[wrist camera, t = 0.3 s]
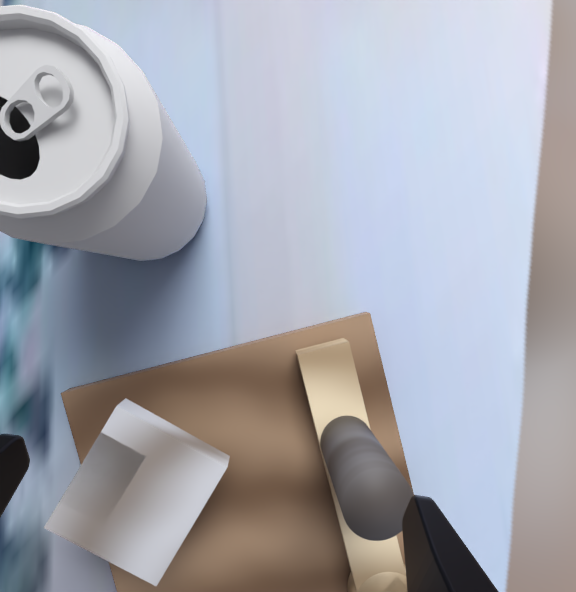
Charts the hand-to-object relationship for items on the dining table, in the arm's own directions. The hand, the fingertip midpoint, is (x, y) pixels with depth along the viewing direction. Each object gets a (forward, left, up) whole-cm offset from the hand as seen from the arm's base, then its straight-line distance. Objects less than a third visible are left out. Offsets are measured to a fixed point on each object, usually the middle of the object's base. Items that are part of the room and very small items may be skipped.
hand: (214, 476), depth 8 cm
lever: (-9, -4, -14) cm, 17 cm away
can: (+11, +4, -15) cm, 19 cm away
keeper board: (-9, +2, -15) cm, 17 cm away
